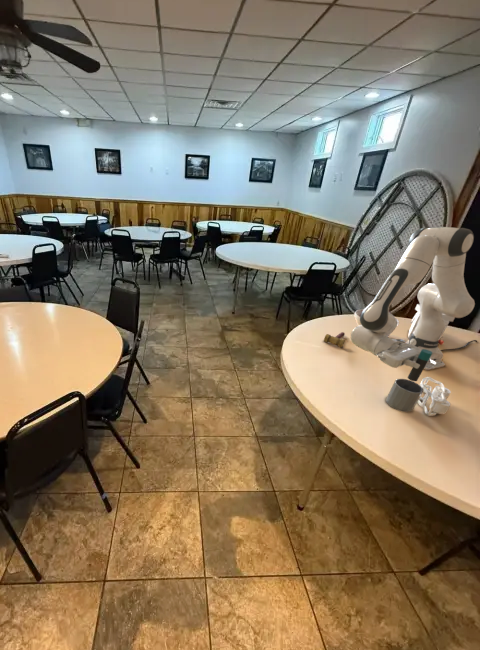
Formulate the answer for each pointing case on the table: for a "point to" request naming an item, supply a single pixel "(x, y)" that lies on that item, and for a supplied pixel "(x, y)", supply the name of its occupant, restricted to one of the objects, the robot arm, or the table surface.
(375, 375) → the table surface
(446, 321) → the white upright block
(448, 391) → the white cage
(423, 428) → the table surface
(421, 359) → the marker pen
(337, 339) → the gavel
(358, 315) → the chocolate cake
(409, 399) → the pen pot
